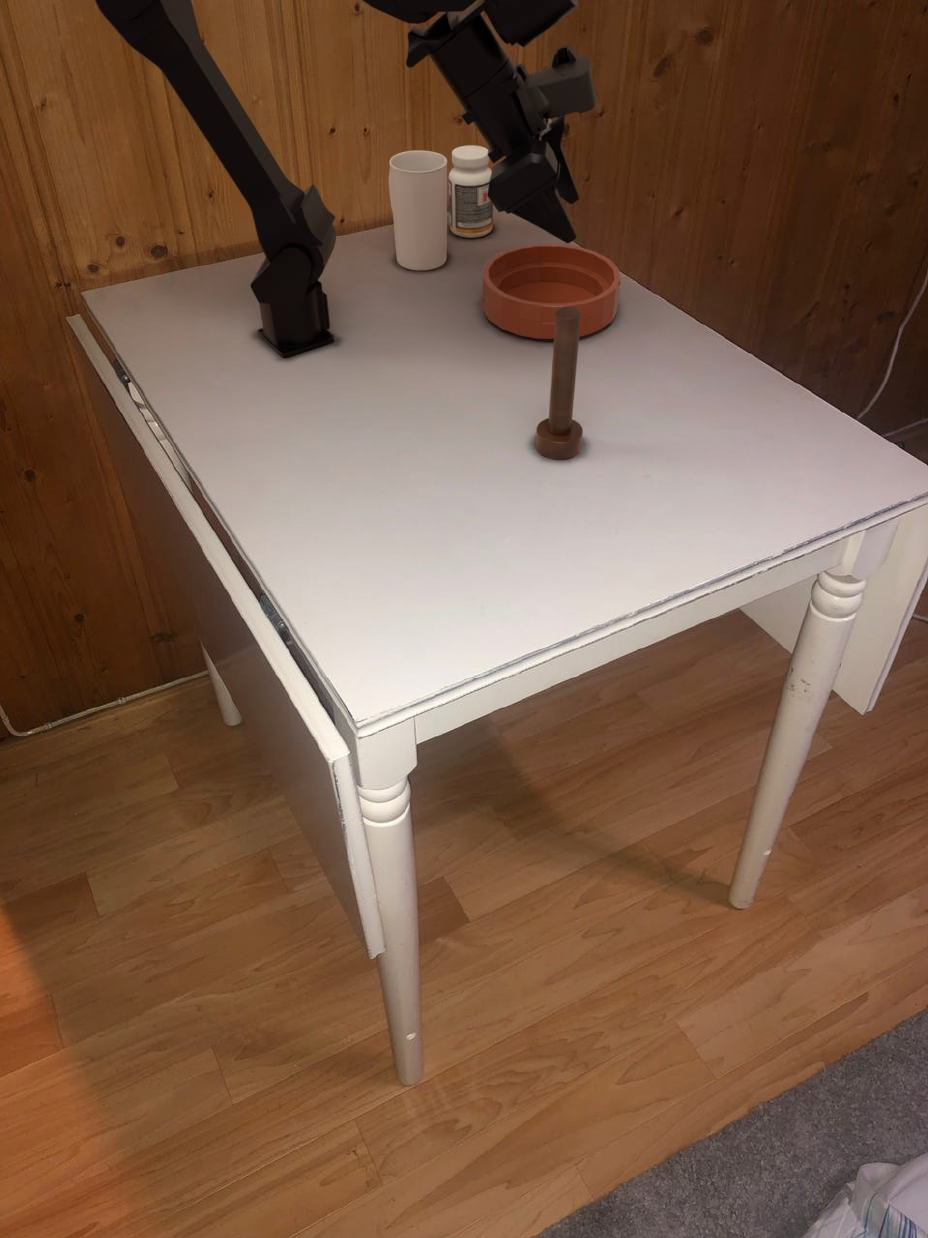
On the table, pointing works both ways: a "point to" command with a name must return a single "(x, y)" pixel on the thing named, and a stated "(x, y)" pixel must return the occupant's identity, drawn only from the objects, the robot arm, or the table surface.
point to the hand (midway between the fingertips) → (574, 220)
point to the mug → (419, 208)
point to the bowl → (549, 288)
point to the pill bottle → (470, 192)
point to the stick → (562, 391)
